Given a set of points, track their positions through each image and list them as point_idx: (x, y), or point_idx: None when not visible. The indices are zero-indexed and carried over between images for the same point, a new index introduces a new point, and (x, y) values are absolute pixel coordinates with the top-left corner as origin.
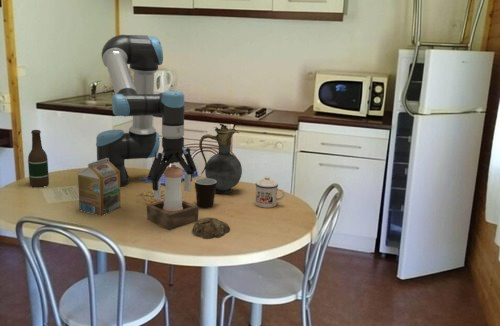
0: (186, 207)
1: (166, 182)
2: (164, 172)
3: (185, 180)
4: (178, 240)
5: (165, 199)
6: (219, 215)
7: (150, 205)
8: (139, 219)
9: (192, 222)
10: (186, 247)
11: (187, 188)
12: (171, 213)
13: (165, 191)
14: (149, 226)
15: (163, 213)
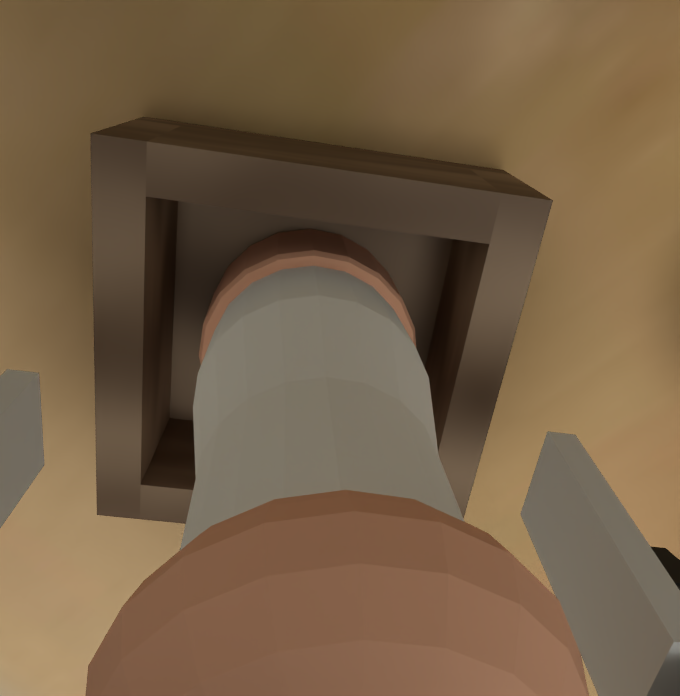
0: (437, 416)
1: (185, 529)
2: (91, 688)
3: (599, 563)
4: (70, 573)
5: (195, 393)
6: (633, 502)
7: (124, 171)
8: (91, 42)
9: None
10: (43, 655)
11: (543, 517)
12: (139, 498)
13: (206, 418)
14: (61, 258)
15: (98, 428)
